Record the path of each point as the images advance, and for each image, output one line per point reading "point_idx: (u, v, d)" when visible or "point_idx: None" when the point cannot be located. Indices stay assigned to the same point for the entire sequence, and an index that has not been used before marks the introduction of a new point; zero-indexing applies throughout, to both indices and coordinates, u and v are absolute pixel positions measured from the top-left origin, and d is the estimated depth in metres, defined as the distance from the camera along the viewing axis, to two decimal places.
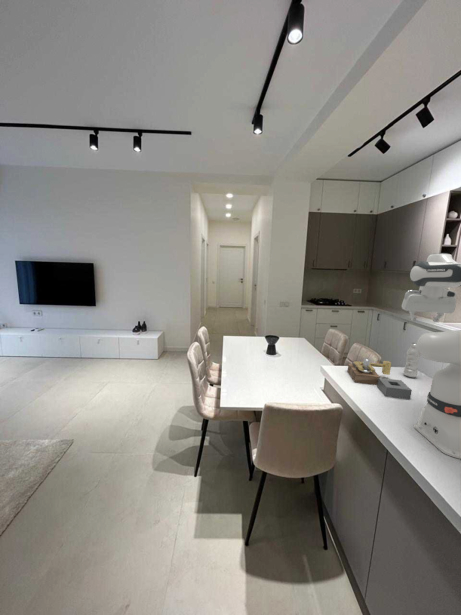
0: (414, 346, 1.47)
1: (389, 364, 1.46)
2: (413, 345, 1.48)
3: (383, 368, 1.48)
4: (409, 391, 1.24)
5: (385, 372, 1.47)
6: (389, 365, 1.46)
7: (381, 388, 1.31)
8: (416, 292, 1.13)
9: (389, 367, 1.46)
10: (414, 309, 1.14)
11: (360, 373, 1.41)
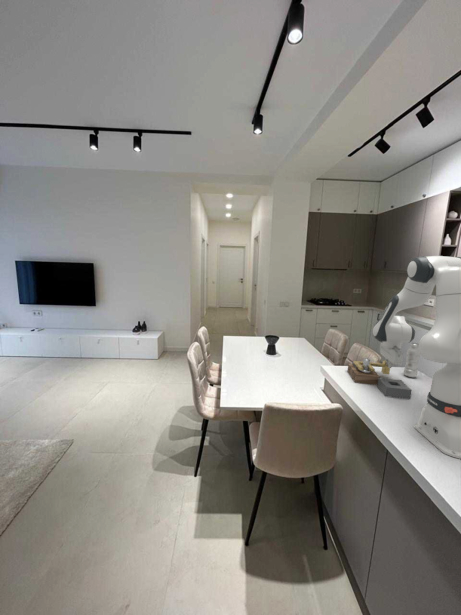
0: (414, 346, 1.47)
1: None
2: (413, 345, 1.48)
3: (383, 368, 1.49)
4: (409, 391, 1.24)
5: (385, 372, 1.47)
6: None
7: (381, 388, 1.31)
8: None
9: None
10: None
11: (360, 373, 1.41)
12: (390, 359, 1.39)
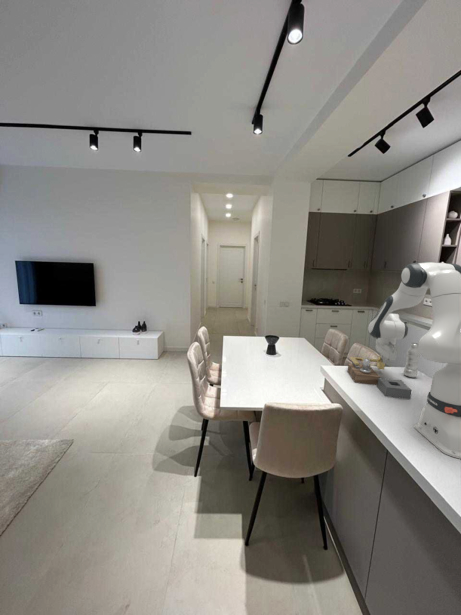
0: (414, 346, 1.47)
1: None
2: (413, 345, 1.48)
3: (378, 363, 1.56)
4: (409, 391, 1.24)
5: (380, 367, 1.54)
6: None
7: (381, 388, 1.31)
8: None
9: None
10: None
11: (360, 373, 1.41)
12: (385, 355, 1.46)
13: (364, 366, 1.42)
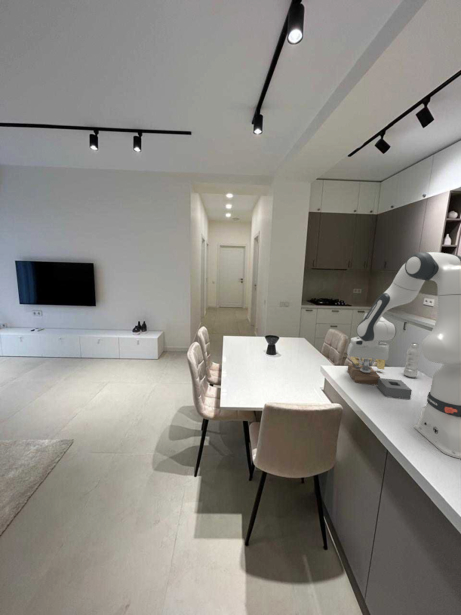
0: (414, 346, 1.47)
1: None
2: (413, 345, 1.48)
3: (378, 363, 1.56)
4: (409, 391, 1.24)
5: (380, 367, 1.54)
6: (383, 360, 1.53)
7: (381, 388, 1.31)
8: None
9: (383, 362, 1.54)
10: None
11: (360, 373, 1.41)
12: (378, 356, 1.39)
13: (364, 366, 1.42)
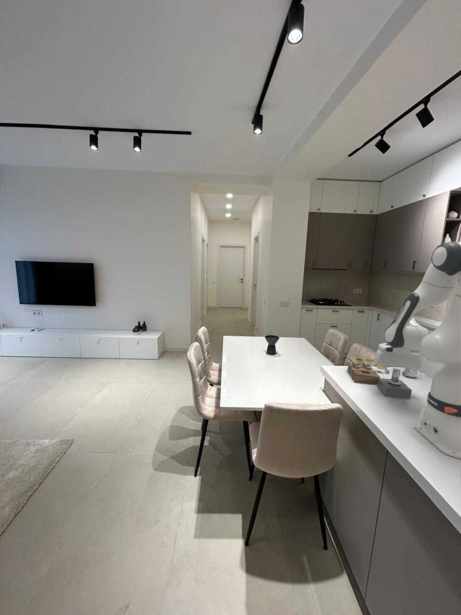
0: None
1: None
2: None
3: None
4: (409, 391, 1.24)
5: (380, 367, 1.54)
6: None
7: (381, 388, 1.31)
8: None
9: None
10: None
11: (360, 373, 1.41)
12: (410, 365, 1.26)
13: (394, 377, 1.28)
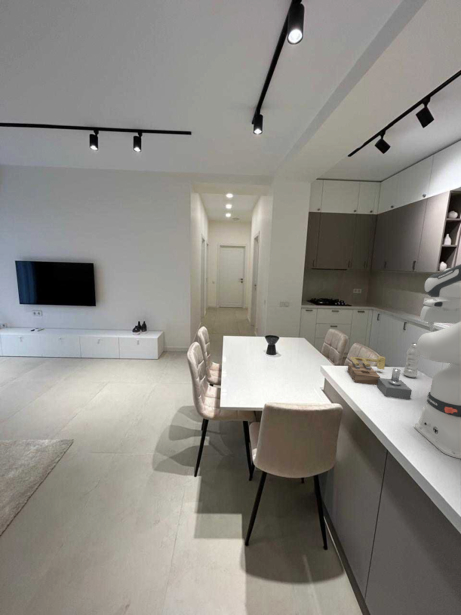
0: (414, 346, 1.47)
1: (383, 359, 1.53)
2: (413, 345, 1.48)
3: (378, 363, 1.56)
4: (409, 391, 1.24)
5: (380, 367, 1.54)
6: (383, 360, 1.53)
7: (381, 388, 1.31)
8: None
9: (383, 362, 1.54)
10: None
11: (360, 373, 1.41)
12: (460, 321, 1.18)
13: (394, 377, 1.28)
